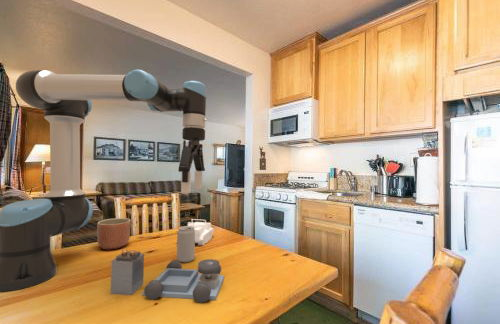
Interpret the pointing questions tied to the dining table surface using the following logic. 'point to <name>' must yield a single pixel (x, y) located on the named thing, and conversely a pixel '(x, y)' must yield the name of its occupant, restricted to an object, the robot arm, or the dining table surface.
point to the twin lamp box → (127, 272)
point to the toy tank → (202, 231)
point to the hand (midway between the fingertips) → (192, 190)
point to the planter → (113, 233)
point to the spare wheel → (208, 267)
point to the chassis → (184, 284)
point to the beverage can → (185, 244)
